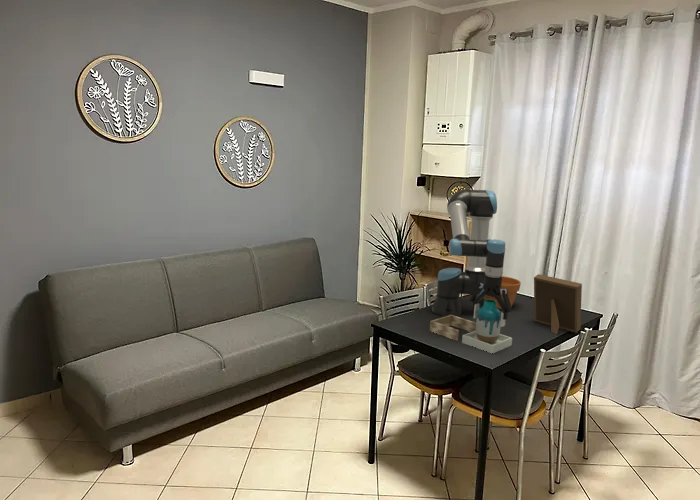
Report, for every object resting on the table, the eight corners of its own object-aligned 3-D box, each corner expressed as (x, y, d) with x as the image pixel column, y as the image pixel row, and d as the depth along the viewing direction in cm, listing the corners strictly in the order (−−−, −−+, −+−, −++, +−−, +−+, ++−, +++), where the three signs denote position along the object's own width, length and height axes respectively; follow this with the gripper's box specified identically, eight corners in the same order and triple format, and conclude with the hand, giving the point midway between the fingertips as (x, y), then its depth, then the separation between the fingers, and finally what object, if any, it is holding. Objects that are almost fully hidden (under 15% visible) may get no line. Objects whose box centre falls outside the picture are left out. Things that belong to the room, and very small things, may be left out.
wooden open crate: (429, 331, 248) (430, 321, 247) (450, 324, 259) (451, 314, 258) (456, 341, 237) (457, 330, 236) (477, 333, 248) (478, 323, 247)
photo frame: (538, 319, 272) (543, 272, 267) (580, 330, 257) (586, 281, 252) (524, 325, 262) (529, 277, 256) (567, 338, 247) (573, 287, 241)
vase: (494, 348, 228) (498, 305, 224) (471, 342, 233) (474, 301, 229) (501, 340, 237) (505, 300, 233) (478, 335, 242) (482, 295, 238)
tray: (461, 342, 235) (462, 335, 235) (481, 335, 246) (482, 328, 245) (492, 353, 224) (493, 346, 223) (511, 345, 235) (512, 337, 234)
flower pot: (492, 297, 308) (494, 273, 305) (525, 306, 293) (528, 281, 290) (471, 304, 294) (473, 278, 291) (504, 313, 279) (507, 287, 276)
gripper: (464, 270, 235) (460, 316, 239) (514, 283, 217) (509, 331, 221) (474, 268, 240) (470, 312, 244) (524, 280, 222) (518, 328, 226)
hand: (488, 321), depth 233 cm, fingers open, 13 cm apart
